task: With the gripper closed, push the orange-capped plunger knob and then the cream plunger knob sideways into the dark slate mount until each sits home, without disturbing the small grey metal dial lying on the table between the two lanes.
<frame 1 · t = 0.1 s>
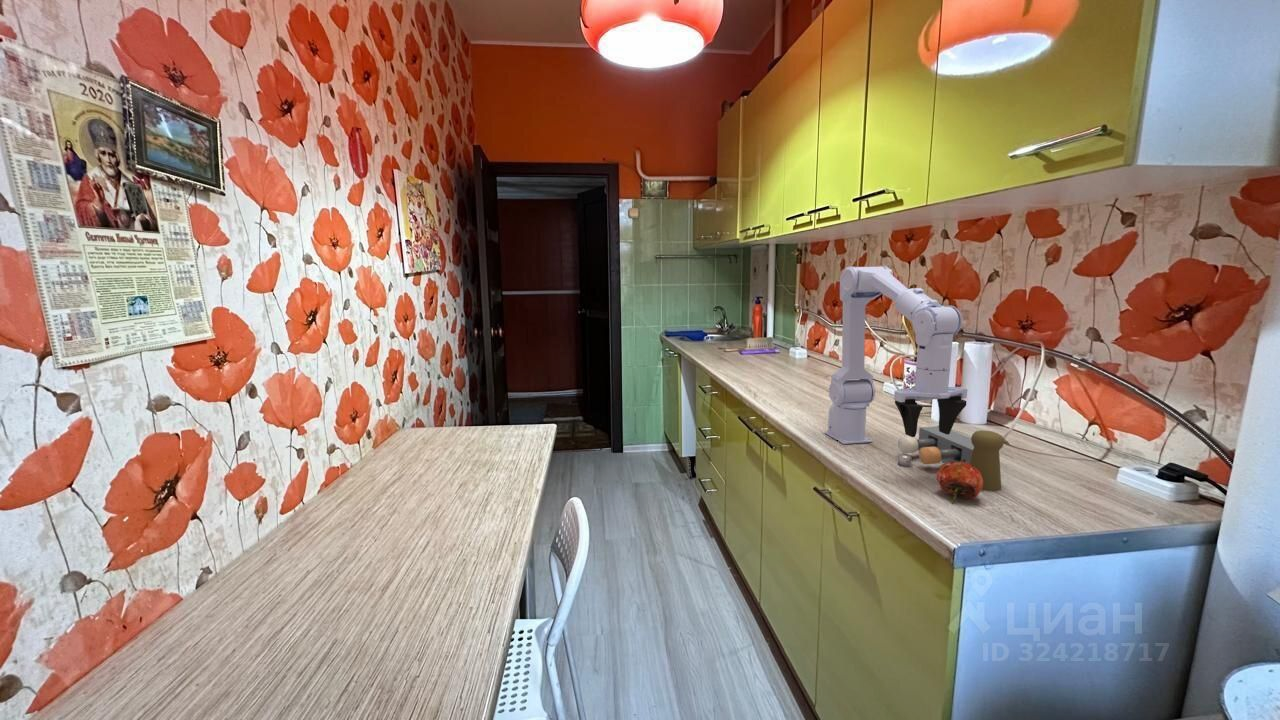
hand: (927, 434, 99), 10 cm above the countertop, tool pointing down, fingers open, 7 cm apart
cork: (982, 485, 98), on the countertop
cream knob: (921, 443, 113), point 3 cm above the countertop, slide at 0.0 cm
orange knob: (944, 454, 106), point 3 cm above the countertop, slide at 0.0 cm
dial: (904, 465, 109), on the countertop
pomegranate: (957, 498, 93), on the countertop
mount: (953, 460, 111), on the countertop
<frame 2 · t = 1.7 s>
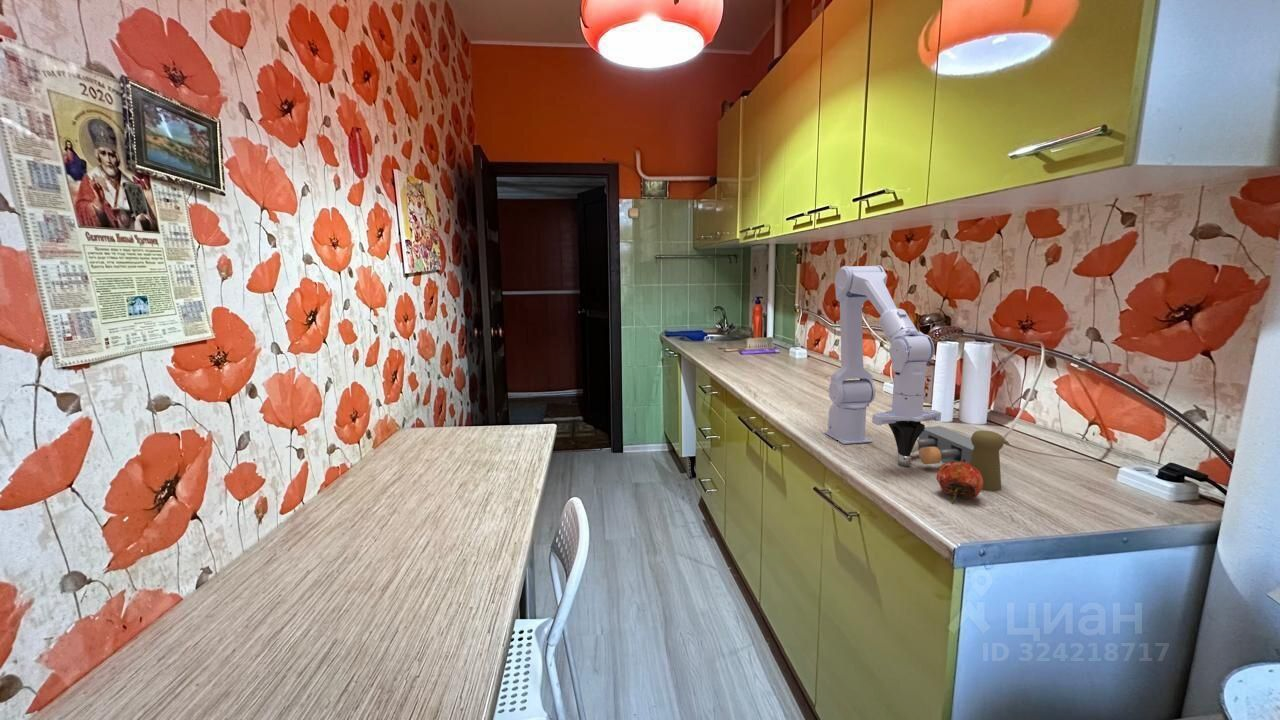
hand: (904, 454, 105), 4 cm above the countertop, tool pointing down, fingers closed
nothing on the countertop moved.
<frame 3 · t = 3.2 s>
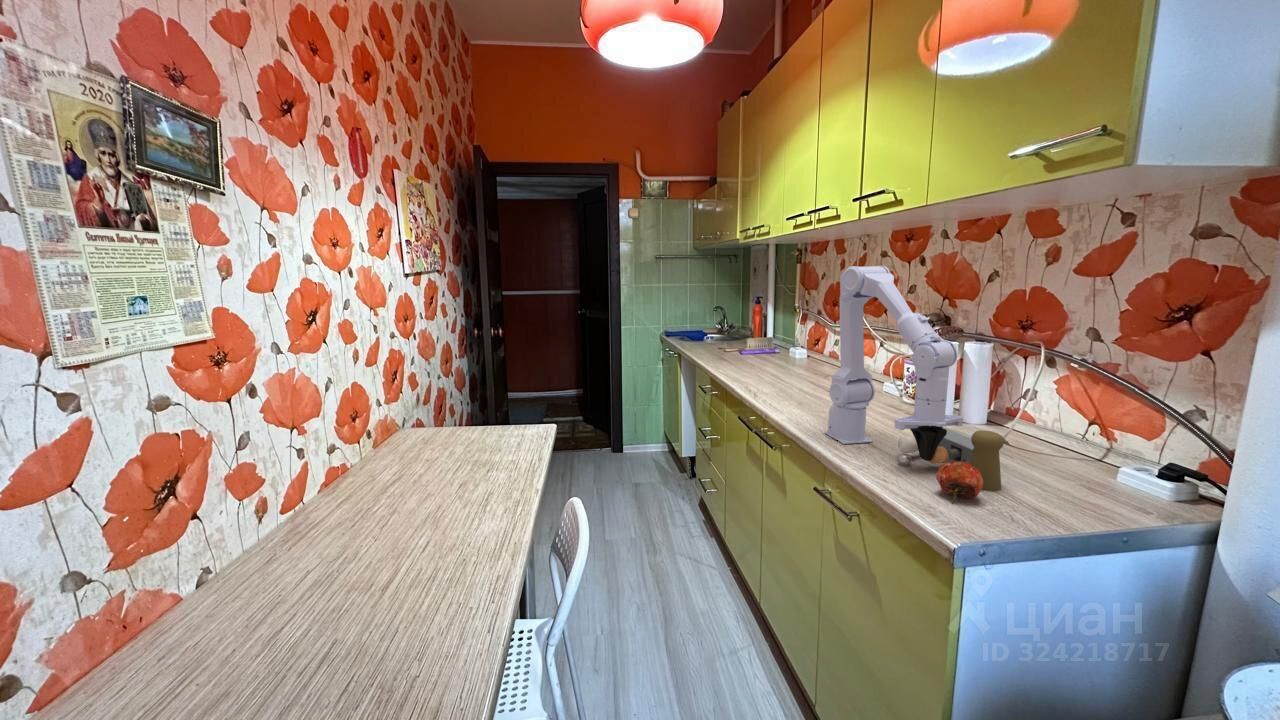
hand: (925, 459, 106), 2 cm above the countertop, tool pointing down, fingers closed
orange knob: (951, 453, 107), point 3 cm above the countertop, slide at 1.7 cm, touching gripper
everything else where it was.
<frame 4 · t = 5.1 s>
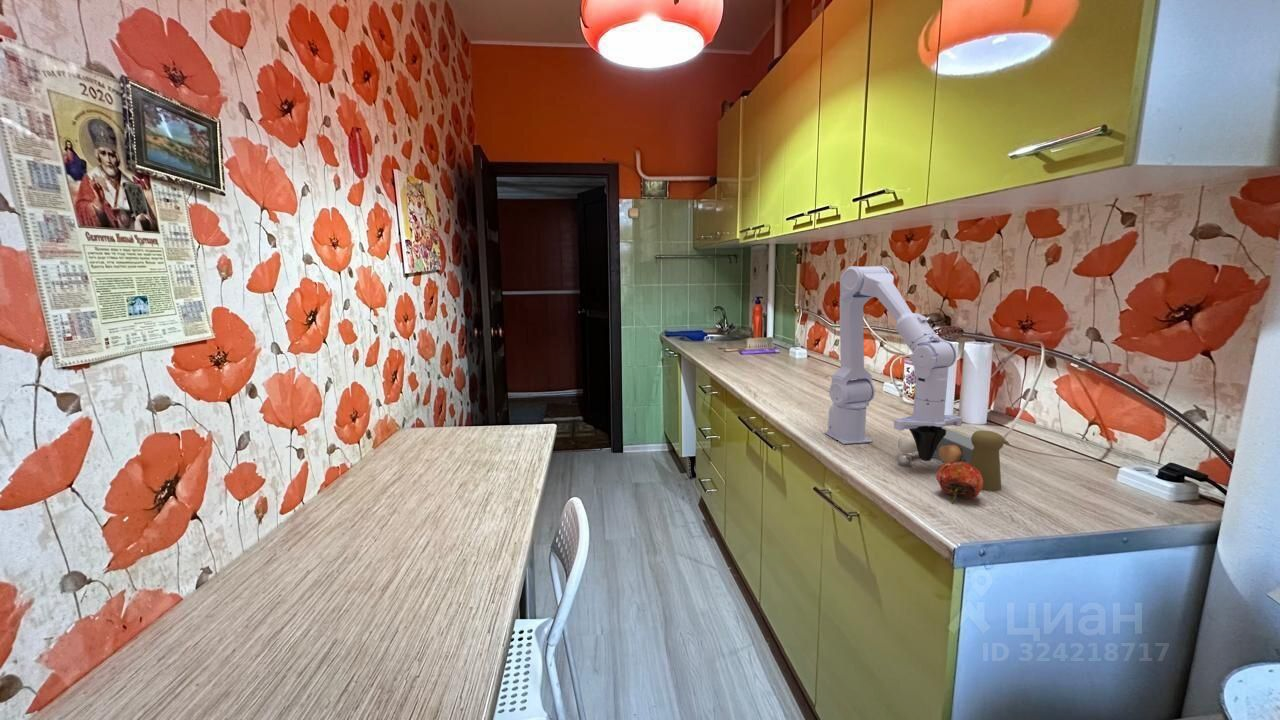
hand: (924, 459, 106), 2 cm above the countertop, tool pointing down, fingers closed
orange knob: (964, 452, 107), point 3 cm above the countertop, slide at 4.8 cm
everything else where it was.
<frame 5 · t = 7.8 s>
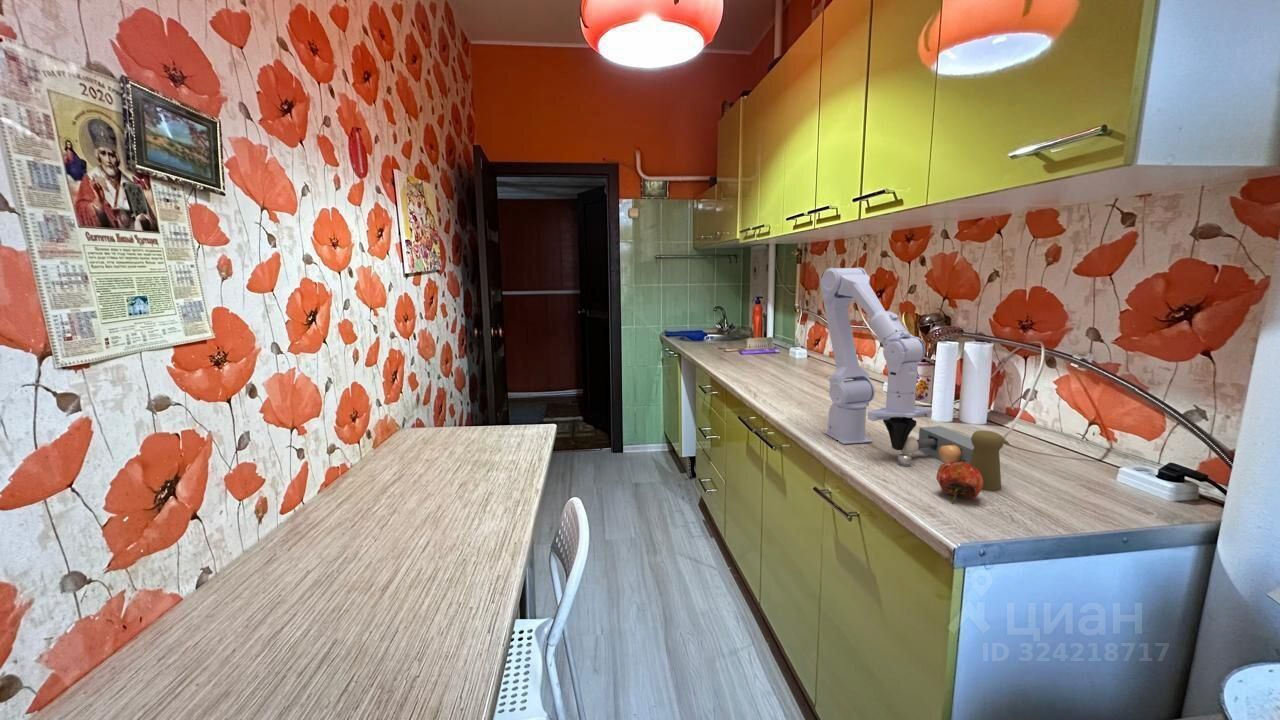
hand: (897, 448, 112), 2 cm above the countertop, tool pointing down, fingers closed
cream knob: (921, 443, 113), point 3 cm above the countertop, slide at 0.0 cm, touching gripper
everything else where it was.
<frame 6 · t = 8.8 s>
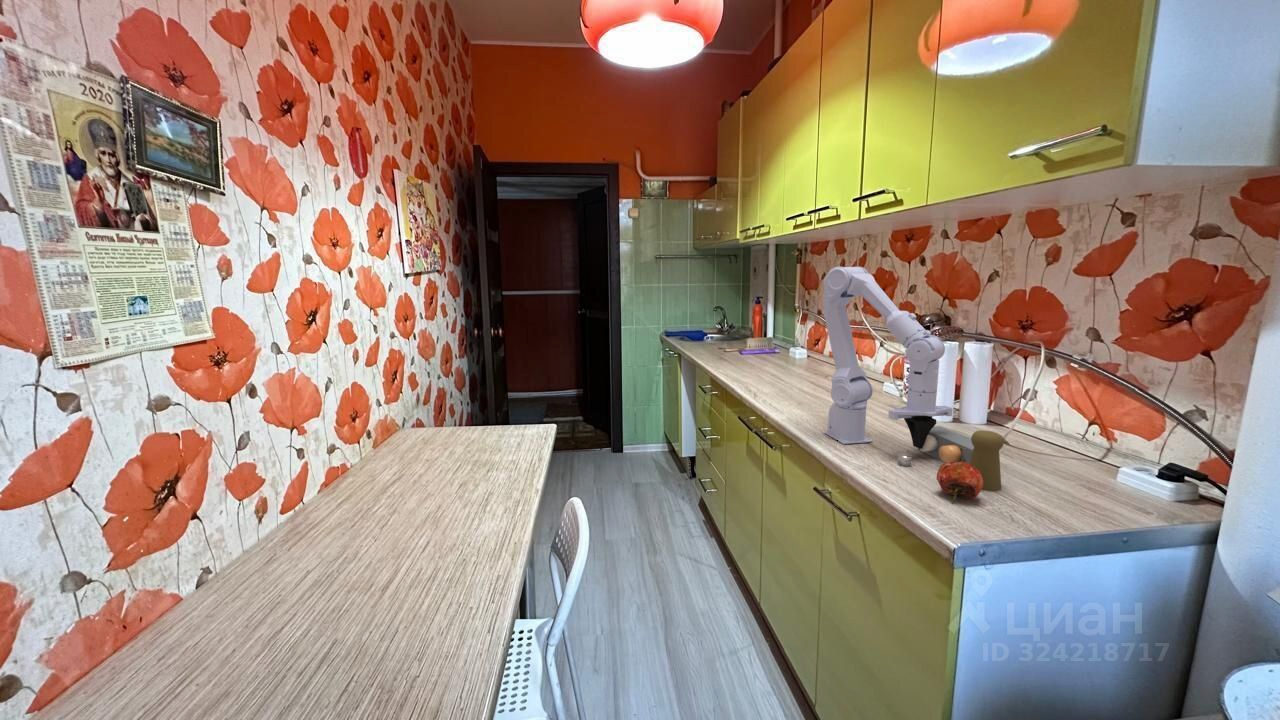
hand: (917, 447, 113), 2 cm above the countertop, tool pointing down, fingers closed
cream knob: (940, 442, 114), point 3 cm above the countertop, slide at 4.9 cm, touching gripper
everything else where it was.
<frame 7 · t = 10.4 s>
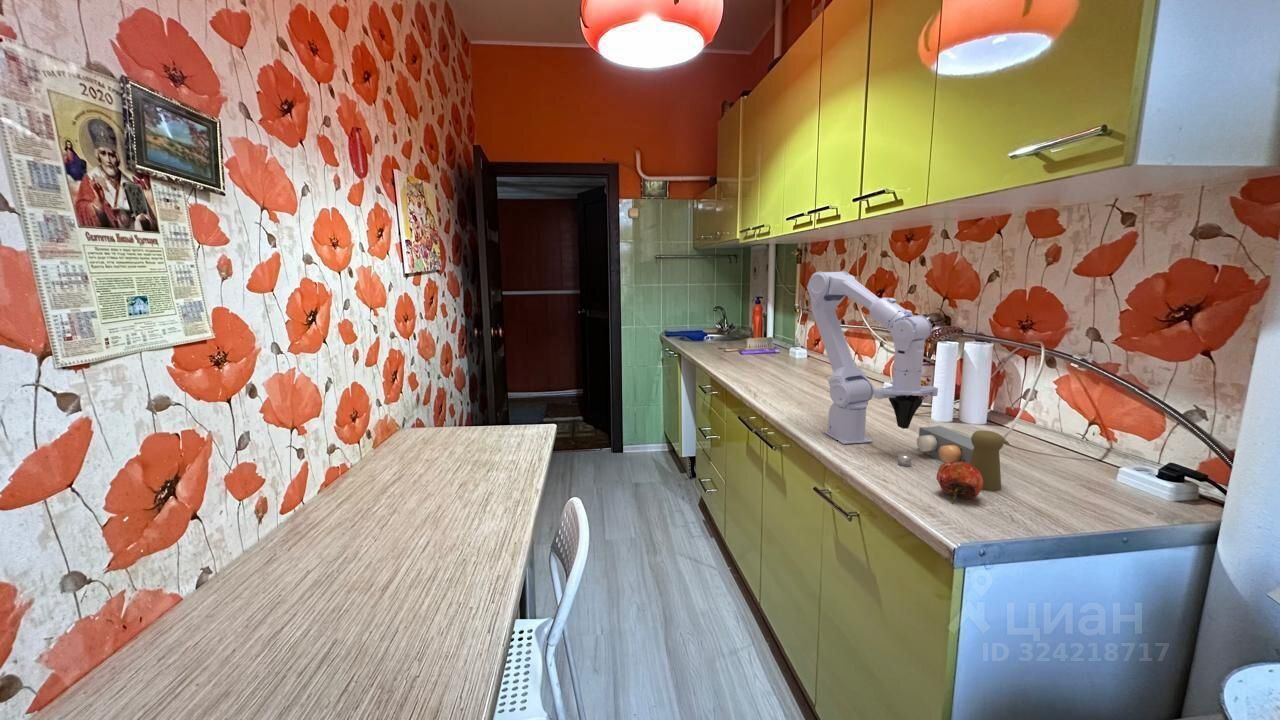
hand: (902, 427, 113), 7 cm above the countertop, tool pointing down, fingers closed
cream knob: (940, 442, 114), point 3 cm above the countertop, slide at 4.8 cm
everything else where it was.
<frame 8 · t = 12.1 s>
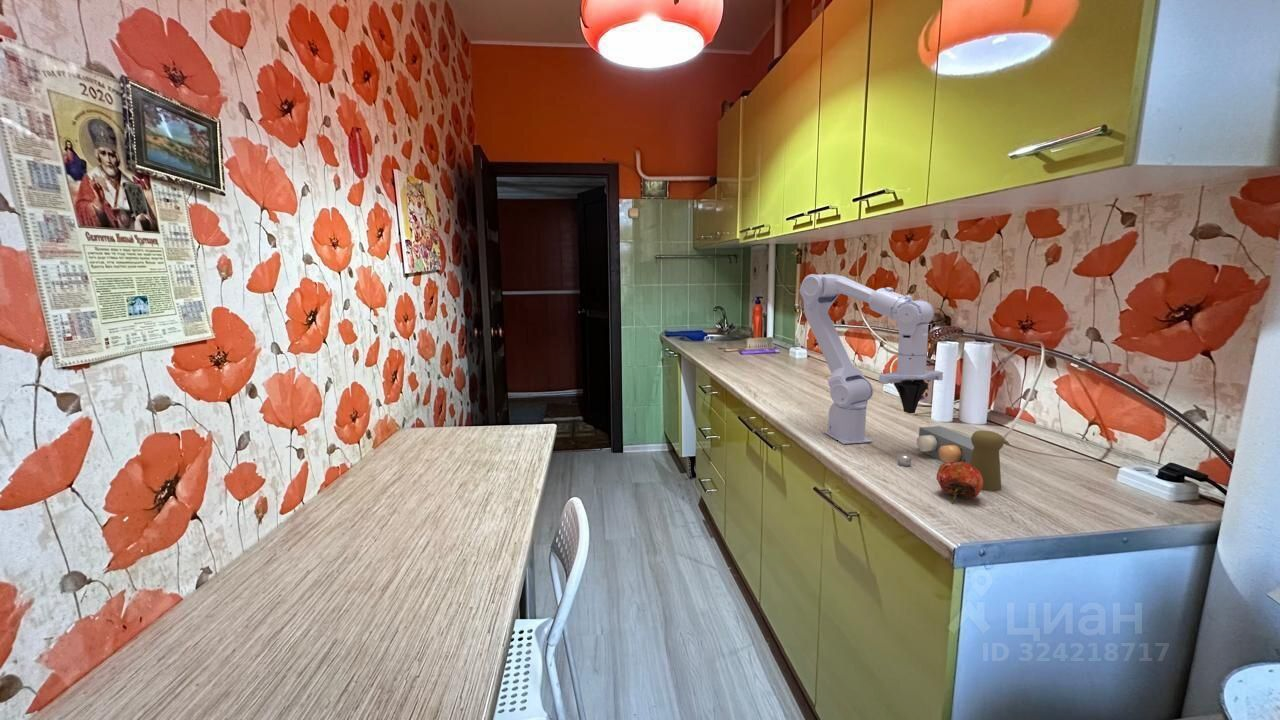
hand: (909, 412, 113), 10 cm above the countertop, tool pointing down, fingers closed
nothing on the countertop moved.
at the end: orange knob slide at 4.8 cm; cream knob slide at 4.8 cm; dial moved 0.1 cm from its start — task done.
